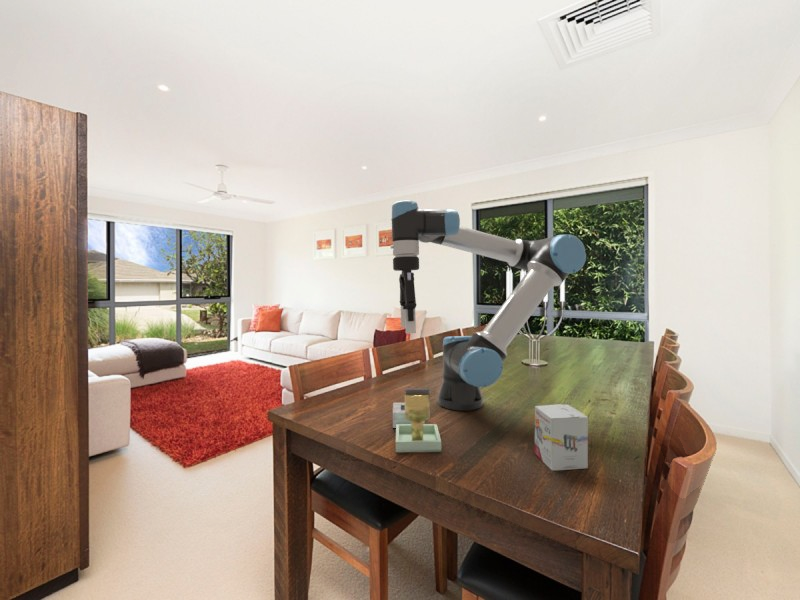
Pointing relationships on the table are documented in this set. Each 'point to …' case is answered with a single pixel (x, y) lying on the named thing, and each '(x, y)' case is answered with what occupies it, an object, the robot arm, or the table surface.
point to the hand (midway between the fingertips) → (408, 330)
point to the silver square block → (400, 414)
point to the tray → (406, 443)
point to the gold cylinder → (417, 410)
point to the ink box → (561, 437)
